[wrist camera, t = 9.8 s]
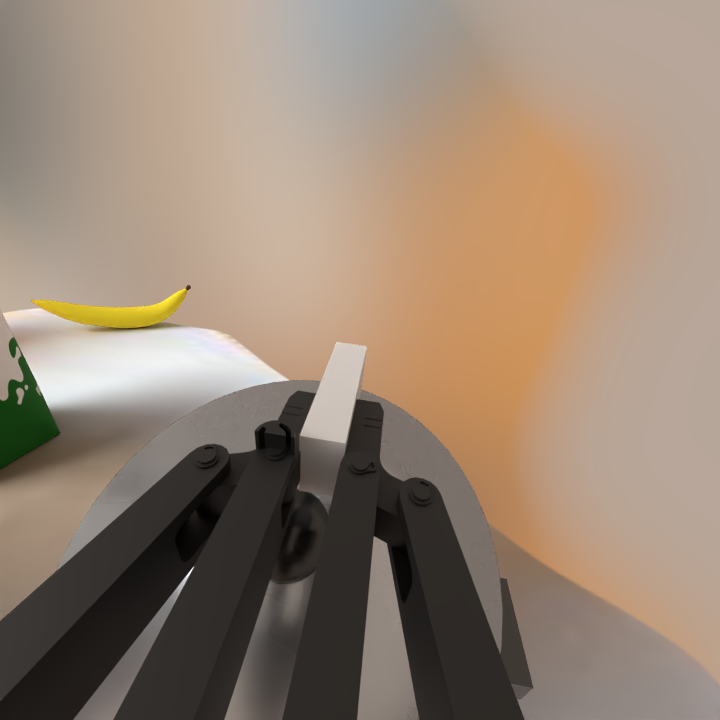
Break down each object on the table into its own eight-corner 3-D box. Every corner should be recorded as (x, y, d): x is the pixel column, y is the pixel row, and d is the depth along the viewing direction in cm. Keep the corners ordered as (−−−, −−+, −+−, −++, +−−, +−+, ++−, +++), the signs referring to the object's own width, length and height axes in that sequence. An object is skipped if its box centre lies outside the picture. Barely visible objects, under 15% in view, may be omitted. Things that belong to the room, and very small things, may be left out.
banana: (49, 328, 47) (31, 286, 43) (196, 319, 54) (190, 282, 51) (42, 338, 44) (22, 293, 41) (196, 327, 52) (190, 288, 48)
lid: (198, 372, 19) (187, 348, 18) (470, 415, 19) (482, 393, 17) (-114, 843, 8) (-209, 879, 7) (540, 997, 7) (591, 1073, 6)
